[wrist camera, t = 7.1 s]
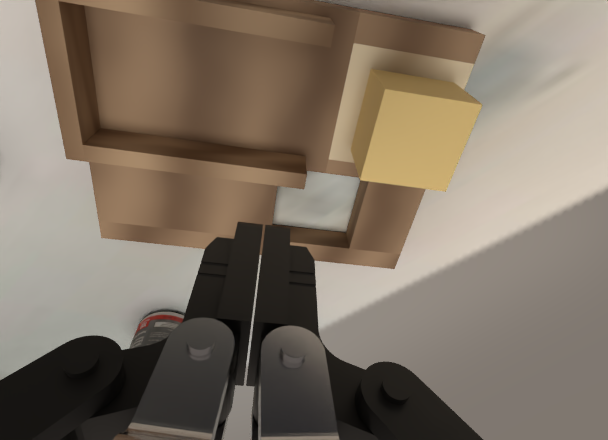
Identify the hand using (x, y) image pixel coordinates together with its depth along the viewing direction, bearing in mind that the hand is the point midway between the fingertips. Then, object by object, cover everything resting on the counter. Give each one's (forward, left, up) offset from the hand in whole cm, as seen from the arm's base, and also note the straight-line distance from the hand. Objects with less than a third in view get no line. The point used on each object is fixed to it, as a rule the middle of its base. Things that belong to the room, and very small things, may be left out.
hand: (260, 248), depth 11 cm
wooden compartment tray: (0, +3, -16) cm, 16 cm away
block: (-8, 0, -14) cm, 16 cm away
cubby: (+4, 0, -14) cm, 14 cm away
